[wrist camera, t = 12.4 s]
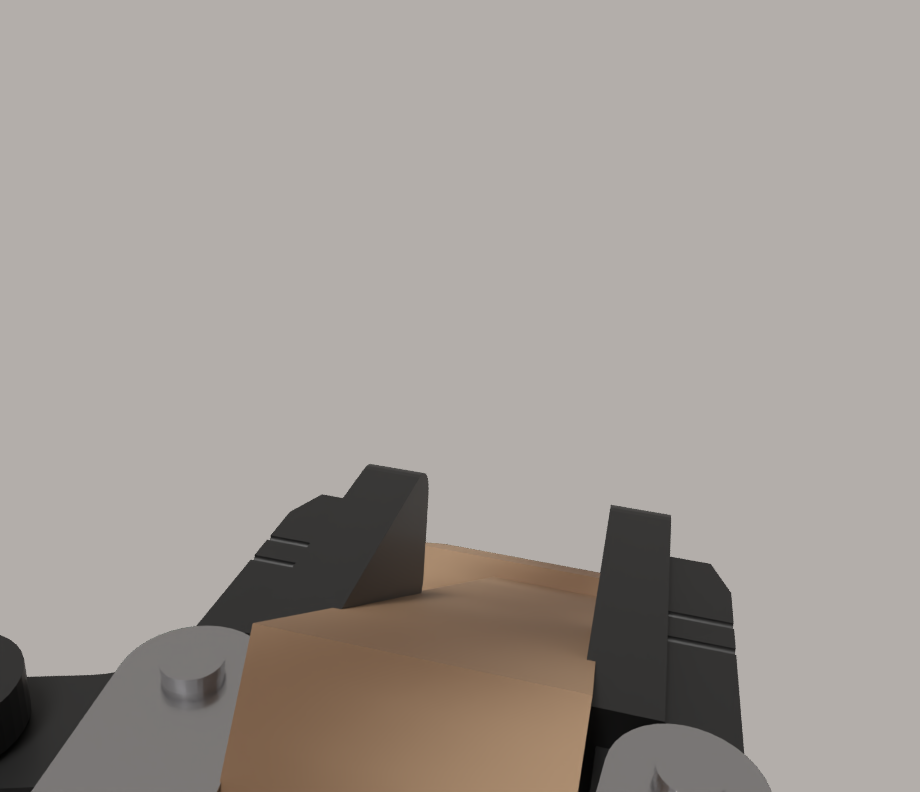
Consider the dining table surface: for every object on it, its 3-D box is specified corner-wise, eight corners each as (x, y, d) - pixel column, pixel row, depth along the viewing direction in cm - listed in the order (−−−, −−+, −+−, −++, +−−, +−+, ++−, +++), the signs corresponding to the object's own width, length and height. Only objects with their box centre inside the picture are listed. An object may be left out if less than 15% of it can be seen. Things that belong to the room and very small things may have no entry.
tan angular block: (-103, 841, 6) (-18, 510, 7) (430, 626, 26) (445, 543, 26) (940, 1137, 5) (978, 707, 5) (673, 675, 24) (686, 588, 25)
